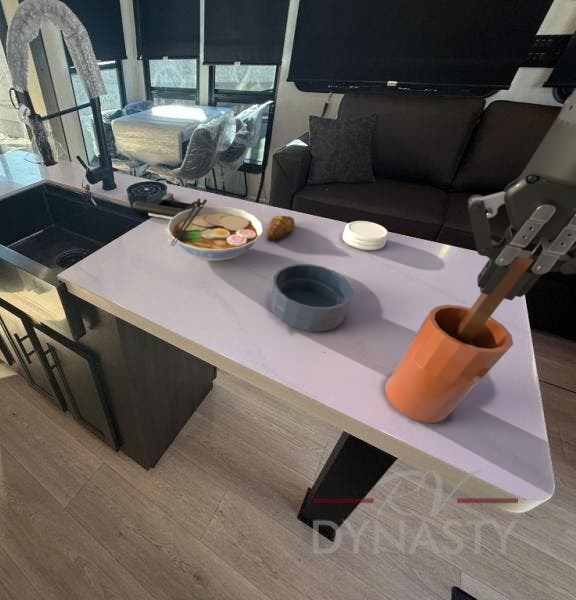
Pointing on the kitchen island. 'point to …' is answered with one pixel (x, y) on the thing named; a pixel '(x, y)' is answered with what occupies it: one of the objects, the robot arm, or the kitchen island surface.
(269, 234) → the croissant
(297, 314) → the bowl
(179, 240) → the ramen bowl
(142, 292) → the kitchen island surface
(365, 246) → the coaster
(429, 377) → the crock
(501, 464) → the kitchen island surface
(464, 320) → the brown wooden masher
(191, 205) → the door handle
